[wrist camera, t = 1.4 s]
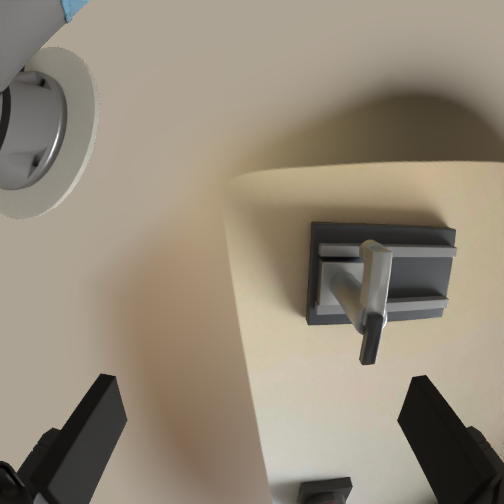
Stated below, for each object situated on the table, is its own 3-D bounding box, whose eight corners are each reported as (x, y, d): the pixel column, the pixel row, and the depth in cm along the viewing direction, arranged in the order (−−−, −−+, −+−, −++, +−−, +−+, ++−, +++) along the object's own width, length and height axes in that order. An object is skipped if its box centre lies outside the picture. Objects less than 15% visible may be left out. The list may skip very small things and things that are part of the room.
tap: (319, 223, 27) (356, 248, 17) (361, 224, 27) (414, 249, 17) (314, 307, 29) (341, 367, 19) (353, 306, 29) (394, 362, 19)
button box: (301, 482, 38) (304, 501, 34) (350, 477, 38) (355, 494, 34) (296, 504, 40) (298, 521, 36) (340, 499, 40) (344, 515, 36)
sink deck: (311, 221, 29) (316, 226, 26) (448, 227, 29) (462, 231, 26) (305, 319, 31) (309, 331, 29) (435, 312, 31) (447, 321, 29)
